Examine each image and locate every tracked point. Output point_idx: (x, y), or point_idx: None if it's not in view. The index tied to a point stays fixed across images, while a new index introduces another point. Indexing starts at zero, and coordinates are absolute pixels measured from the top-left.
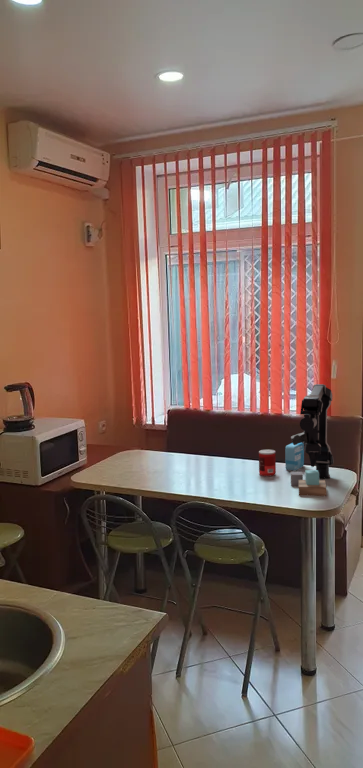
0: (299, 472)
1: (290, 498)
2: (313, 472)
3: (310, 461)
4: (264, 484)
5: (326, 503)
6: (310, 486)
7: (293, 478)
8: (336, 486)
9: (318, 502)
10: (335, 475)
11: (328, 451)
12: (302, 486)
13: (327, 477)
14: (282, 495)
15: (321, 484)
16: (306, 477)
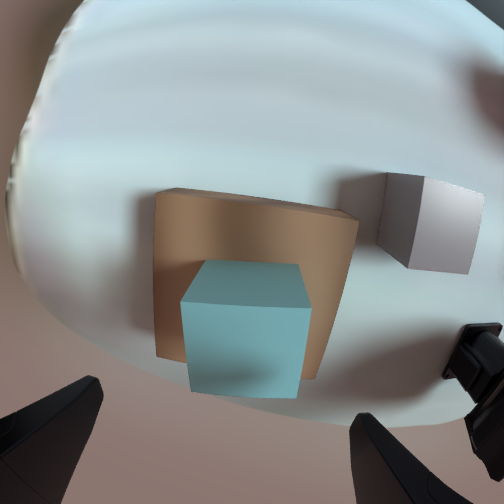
0: (462, 254)
1: (121, 136)
2: (211, 361)
3: (37, 402)
4: (406, 34)
5: (73, 300)
6: (169, 276)
7: (407, 192)
8: (331, 393)
9: (77, 271)
10: None
11: (487, 465)
12: (166, 221)
13: (447, 370)
14: (176, 91)
15: None
16: (221, 281)
